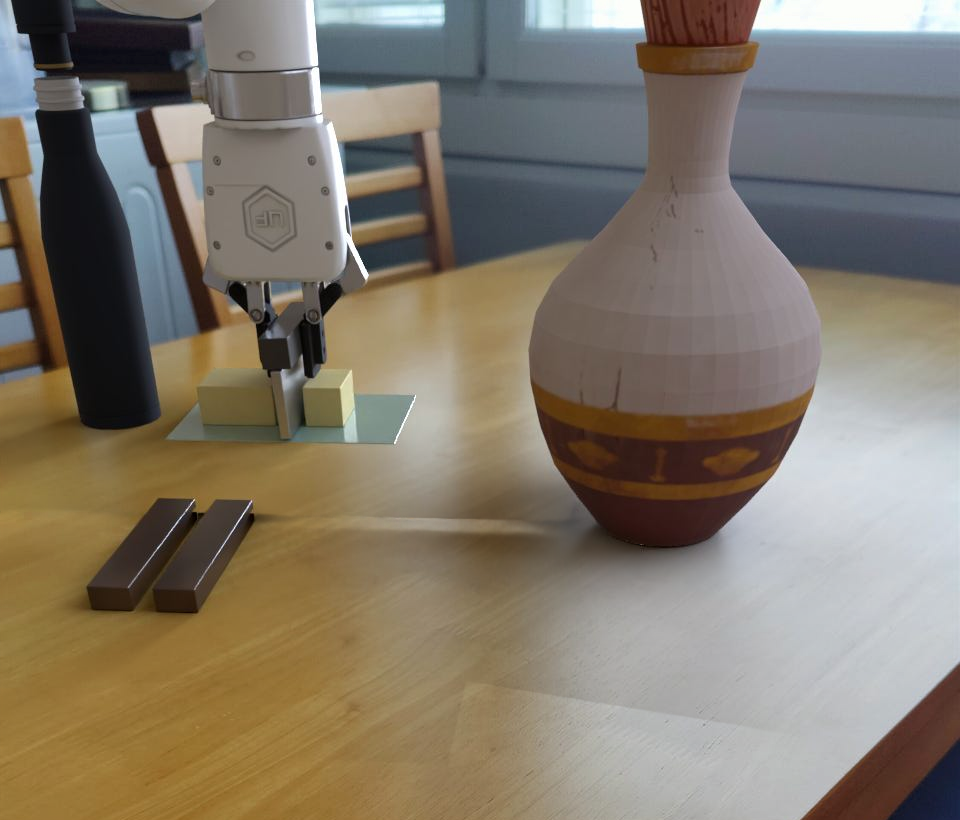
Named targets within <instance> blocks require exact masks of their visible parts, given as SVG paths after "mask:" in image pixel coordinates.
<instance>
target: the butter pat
mask: <svg viewBox="0 0 960 820" xmlns="http://www.w3.org/2000/svg"><path fill="white" fill-rule="evenodd" d="M302 389H303V399H304V409H305V419H306V426H313V427H344V425H345V423H346V421H347V420H348V418H349V416H350V414H351V412H352V411H353V409H354V407H355V404H354V394H355V393H354V379H353V369H350V368H349V369H347V368H346V369H345V368H343V369H342V368H321V369H320V371H319V372H318V374H317V375H316V377H315V378H309V379H308V381H307V382H306V383H305V385H304V386H303V388H302Z"/></svg>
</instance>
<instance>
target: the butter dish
mask: <svg viewBox="0 0 960 820" xmlns="http://www.w3.org/2000/svg"><path fill="white" fill-rule="evenodd" d="M416 398H417V394H379V393H376V394H375V393H373V394H371V393H369V394H368V393H354V404H355V407H354V409H353V411H352V412H351V414H350V416H349V418H348V420H347V421H346V423H345V425H344V427H313V426H306V419H305V418H304V419H303V421H302V422H301V424H300V425H299V427H298V428H297V430H296V431H295V433H294V435H293V436H292V438H291V439H281V436H280V430H279V424H277V425H276V426H258V425H203V424H202V419H201V412H200V406H199V401H198V402H196V404H195V405H194V406H193V407H192V408H191V409H190V410H189V411H188V413H187V414H186V415H185V416H184V417H183V418H182V420H181V421H180V422H179V423H178V424H177V425H176V426H175V427H174V429H173V430H171V432H170V433H169V434H168V435H167V436H166V437H165V438H164V441H198V442H203V441H204V442H251V443H253V442H256V443H301V444H303V443H306V444H307V443H308V444H309V443H311V444H314V443H315V444H359V445H360V444H361V445H362V444H365V445H369V444H370V445H395V444H396V443H397V441H398V438H399V435H400V433H401V431H402V428H403V426H404V424H405V422H406V419H407V417H408V416H409V413H410V410H411V408H412V406H413V405H414V402H415V399H416Z"/></svg>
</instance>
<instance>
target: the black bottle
mask: <svg viewBox="0 0 960 820" xmlns="http://www.w3.org/2000/svg"><path fill="white" fill-rule="evenodd" d="M10 2H11V7H12V13H13V17H14V22H15V27H16V32H17V34H20V35H28V40H29V45H30V49H31V55H32V59H33V63H32V64H33V68H34V69H35V71H38V72H59V71H60V72H61V71H69V70H72V69H73V67H74V62H73V61H72V56H71V52H70V45H69V41H68V35H67V33H68V34H69V33H70V34H71V33H76V31H77V29H76V28H77V27H76V23H75V17H74V12H73V7H72V0H10ZM33 83H34V85H33V86H32V90H33V91H34V92H35V94H36V97H35V102H36V103H37V104H38V108H37V109H35V112H34V116H35V120H36V127H37V130H38V135H39V141H40V145H41V151H42V155H43V159H42V169H41V177H40V178H41V179H40V190H39V191H40V193H39V218H40V219H39V220H40V221H39V223H40V236H41V237H40V238H41V242H42V247H43V251H44V255H45V256H44V257H45V262H46V266H47V270H48V275H49V279H50V284H51V289H52V294H53V298H54V303H55V307H56V312H57V317H58V322H59V325H60V326H59V327H60V330H61V332H60V333H61V336H62V342H63V346H64V350H65V355H66V359H67V364H68V368H69V373H70V378H71V382H72V388H73V392H74V396H75V401H76V406H77V407H76V408H77V411H78V415H79V420H80V423H81V424H82V425H83V426H84V427H86V428H90V429H95V430H101V431H117V430H118V431H119V430H129V429H133V428H134V429H135V428H139V427H143V426H146V425H150V424H152V423H154V422H156V421H157V420H159V418H160V417H161V416H162V409H161V404H160V403H161V402H160V398H159V392H158V386H157V381H156V374H155V370H154V364H153V363H154V362H153V358H152V351H151V347H150V346H151V345H150V340H149V335H148V328H147V324H146V322H147V321H146V317H145V311H144V306H143V301H142V300H143V299H142V295H141V288H140V283H139V282H140V281H139V276H138V271H137V265H136V259H135V253H134V247H133V242H132V236H131V231H130V230H131V229H130V227H129V223H128V221H127V218H126V215H125V211H124V209H123V206H122V203H121V200H120V198H119V194H118V191H117V190H116V188H115V185H114V184H113V182H112V179H111V177H110V175H109V173H108V171H107V169H106V167H105V165H104V163H103V161H102V158H101V157H100V155H99V152H98V149H97V143H96V142H97V141H96V137H95V132H94V127H93V121H92V115H91V110H90V108H89V107H87V106H84V101H85V96H84V95H83V94H82V89H83V84H82V83H80V80H79V76H76V75H75V76H74V75H53V76H41V77H35V78H33Z"/></svg>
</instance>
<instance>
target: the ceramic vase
mask: <svg viewBox="0 0 960 820" xmlns="http://www.w3.org/2000/svg"><path fill="white" fill-rule="evenodd" d="M639 1H640V2H639V3H640V8H641V14H642V20H643V26H644V33H645V37H646V41H642V42H641V41H640V42H637V43H635V52H636V61H637V68H638V69H640V70H642V74H643V75H642V76H643V81H644V88H645V96H646V105H647V107H646V109H647V117H648V119H647V120H648V122H647V123H648V124H647V127H648V128H647V131H648V133H647V142H648V143H647V148H648V149H647V151H648V152H647V162H646V163H647V164H646V171H645V173H644V176H643V179H642V181H641V184H640V186H639V187H638V188H637V189H636V190H635V191H634V193H633V194H632V195H631V196H630V197H629V198H628V199H627V201H626V202H625V203H624V204H623V206H622V207H620V209H619V210H618V211H617V212H616V213H615V215H614V216H613V217H612V218H611V219H610V220H609V222H608V223H607V224H606V225H605V226H604V227H603V229H602V230H600V232H599V233H598V234H597V235H596V236H594V237H593V239H592V240H590V241H589V242H588V243H587V244H586V245H585V246H584V247H583V248H582V249H581V250H580V251H579V252H578V253H577V254H576V255H575V256H574V257H573V258H572V259H571V261H570V262H568V264H567V265H566V266H565V267H564V268H563V269H561V271H560V272H559V274H558V275H556V277H555V278H554V279H553V280H552V281H551V283H550V285H549V287H548V288H547V290H546V292H545V294H544V296H543V297H542V300H541V301H540V303H539V305H538V307H537V309H536V310H535V314H534V318H533V322H532V323H533V324H532V329H531V334H530V339H529V340H530V341H529V345H528V349H527V350H528V365H529V368H528V369H529V381H530V382H529V383H530V388H531V392H532V396H533V400H534V405H535V410H536V414H537V419H538V423H539V426H540V430H541V433H542V435H543V439H544V441H545V443H546V446H547V449H548V451H549V454H550V457H551V460H552V462H553V465H554V466H555V467H556V469H557V470H558V472H559V474H560V475H561V476H562V477H563V479H564V481H565V482H566V483H567V485H568V486H569V488H570V489H571V490H572V492H573V493H574V495H575V496H576V498H577V499H578V500H579V502H580V503H581V504H582V505H583V506H584V508H585V509H586V510H587V512H588V513H589V514H590V515H591V516H592V518H593V519H594V520H595V522H596V523H597V524H598V525H599V527H600V528H601V529H602V530H603V531H604V532H605V533H606V534H608V535H609V536H611V537H613V538H616V539H618V540H620V541H623V542H626V541H627V542H626V543H629V542H630V544H634V543H636V544H635V545H638V544H642V545H641V546H644V545H650V546H649V547H654V546H675V547H683V546H682V545H684V546H687V545H688V546H689V545H693V544H698V543H701V542H703V541H706V540H708V539H710V538H713V537H714V536H715V535H717V533H718V532H719V531H720V530H722V529H723V527H724V526H726V525H727V524H728V523H729V522H730V521H731V520H732V519H733V518H734V517H735V516H736V515H738V513H739V512H740V511H741V510H743V508H744V507H745V506H747V505H748V503H750V501H751V500H753V498H754V497H755V496H756V495H757V494H758V493H759V492H760V491H761V489H762V488H763V487H764V486H765V485H766V484H767V483H768V482H769V481H770V480H771V479H772V477H773V476H775V474H776V472H777V471H778V470H779V468H780V466H781V464H782V462H783V461H784V458H785V457H786V455H787V453H788V451H789V449H790V448H791V446H792V444H793V442H794V441H795V439H796V437H797V436H798V433H799V431H800V429H801V426H802V423H803V421H804V418H805V415H806V413H807V410H808V407H809V405H810V403H811V400H812V398H813V395H814V391H815V387H816V384H817V383H816V382H817V378H818V375H819V369H820V364H821V361H822V329H821V328H822V327H821V326H822V325H821V318H820V315H819V312H818V310H817V308H816V305H815V302H814V300H813V297H812V294H811V293H810V289H809V287H808V285H807V283H806V282H805V280H804V279H803V278H802V276H801V275H800V274H799V272H798V271H797V270H796V268H795V267H794V266H793V265H792V263H791V262H790V260H789V259H788V258H787V257H786V256H785V255H784V254H783V252H782V251H781V249H779V248H778V247H777V245H776V244H775V243H774V242H773V241H772V240H771V239H770V237H769V236H768V235H767V234H766V233H765V231H764V230H763V229H762V228H761V226H760V225H759V223H758V222H757V220H756V218H755V217H754V216H753V214H752V213H751V211H749V209H748V208H747V206H746V205H745V204H744V201H743V200H742V199H741V197H740V196H739V195H738V193H737V192H736V190H735V189H734V188H733V186H732V181H731V177H730V173H729V167H730V166H729V165H730V163H729V162H730V151H731V144H732V138H733V133H734V131H733V130H734V125H735V119H736V114H737V110H738V106H739V102H740V99H741V95H742V91H743V87H744V84H745V81H746V78H747V75H748V72H749V70H750V69H752V68H754V65H755V62H756V58H757V55H758V51H759V47H760V42H758V41H752V40H750V38H751V34H752V30H753V27H754V23H755V21H756V18H757V15H758V12H759V9H760V5H761V2H762V0H639ZM679 545H680V546H679Z"/></svg>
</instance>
